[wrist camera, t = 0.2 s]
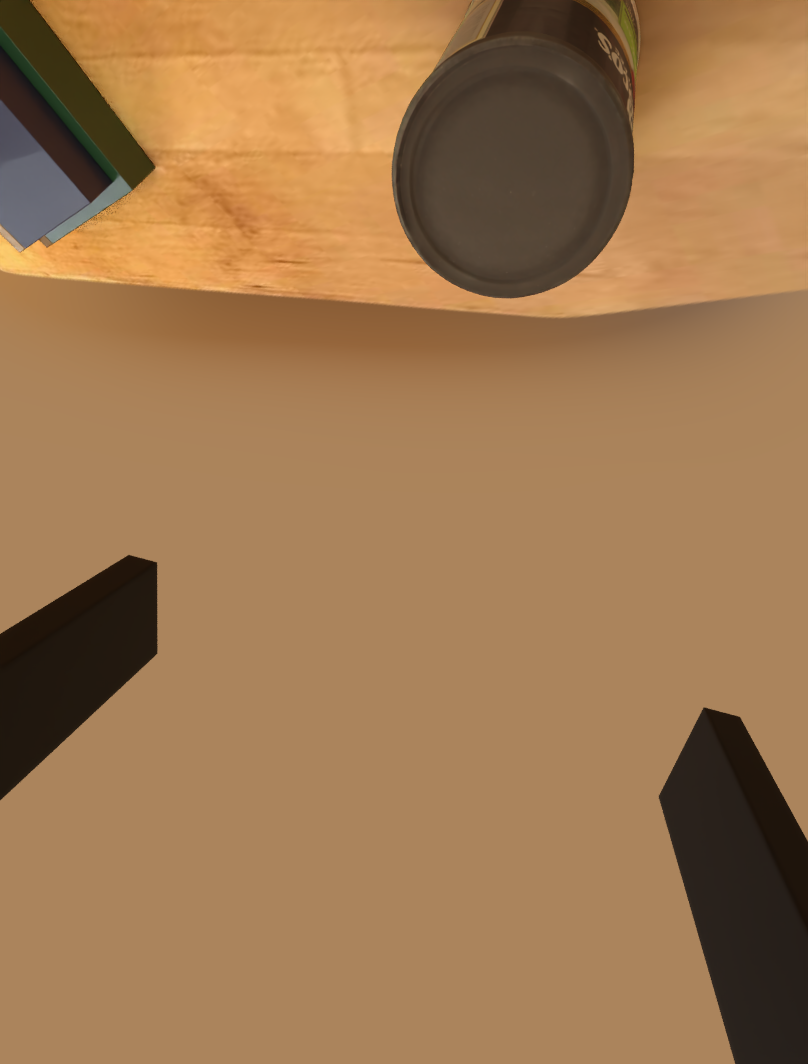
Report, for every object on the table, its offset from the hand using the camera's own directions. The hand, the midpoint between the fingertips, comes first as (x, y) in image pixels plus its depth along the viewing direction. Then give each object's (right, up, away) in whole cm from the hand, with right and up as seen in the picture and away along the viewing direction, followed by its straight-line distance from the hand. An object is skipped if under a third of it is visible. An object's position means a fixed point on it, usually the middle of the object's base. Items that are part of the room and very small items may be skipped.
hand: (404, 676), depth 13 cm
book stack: (-28, +35, +26) cm, 52 cm away
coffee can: (+8, +30, +18) cm, 36 cm away
